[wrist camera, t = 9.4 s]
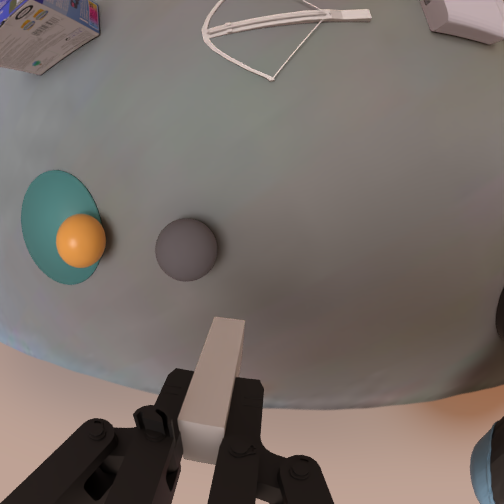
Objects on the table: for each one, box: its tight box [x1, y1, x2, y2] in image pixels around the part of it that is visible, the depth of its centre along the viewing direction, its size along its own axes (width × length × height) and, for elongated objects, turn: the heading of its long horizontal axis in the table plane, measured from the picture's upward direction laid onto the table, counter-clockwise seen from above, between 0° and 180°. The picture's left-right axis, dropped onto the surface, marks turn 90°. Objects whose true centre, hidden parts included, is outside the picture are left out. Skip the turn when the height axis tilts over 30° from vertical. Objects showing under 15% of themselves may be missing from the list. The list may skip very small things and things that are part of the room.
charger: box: [419, 0, 504, 45], centre depth 15 cm, size 5×9×15 cm
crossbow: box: [201, 0, 372, 82], centre depth 20 cm, size 16×13×2 cm
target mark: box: [21, 170, 102, 285], centre depth 29 cm, size 14×14×1 cm
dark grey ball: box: [155, 219, 217, 281], centre depth 26 cm, size 6×6×6 cm
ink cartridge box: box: [0, 0, 100, 75], centre depth 15 cm, size 10×6×14 cm, turn 105°
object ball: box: [56, 214, 106, 268], centre depth 26 cm, size 6×6×6 cm
